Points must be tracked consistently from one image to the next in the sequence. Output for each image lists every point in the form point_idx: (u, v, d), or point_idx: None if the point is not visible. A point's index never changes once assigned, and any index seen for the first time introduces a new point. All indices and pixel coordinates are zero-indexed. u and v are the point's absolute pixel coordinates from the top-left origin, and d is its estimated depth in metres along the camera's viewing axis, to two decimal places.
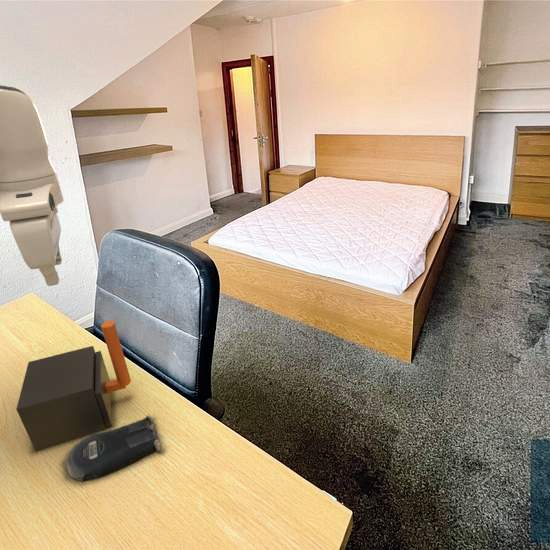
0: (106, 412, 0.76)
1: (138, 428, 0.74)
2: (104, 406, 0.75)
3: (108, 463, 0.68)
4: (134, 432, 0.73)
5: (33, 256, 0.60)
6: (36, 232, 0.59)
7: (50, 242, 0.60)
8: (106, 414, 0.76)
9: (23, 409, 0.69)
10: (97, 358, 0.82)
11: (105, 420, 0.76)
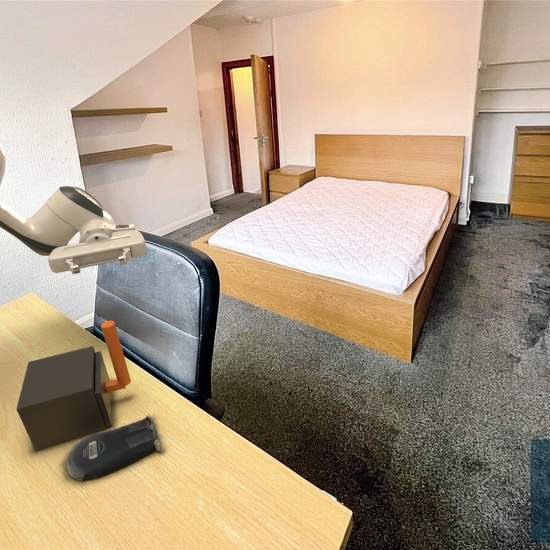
0: (106, 412, 0.76)
1: (138, 428, 0.74)
2: (104, 406, 0.75)
3: (108, 463, 0.68)
4: (134, 432, 0.73)
5: None
6: None
7: None
8: (106, 414, 0.76)
9: (23, 409, 0.69)
10: (97, 358, 0.82)
11: (105, 420, 0.76)
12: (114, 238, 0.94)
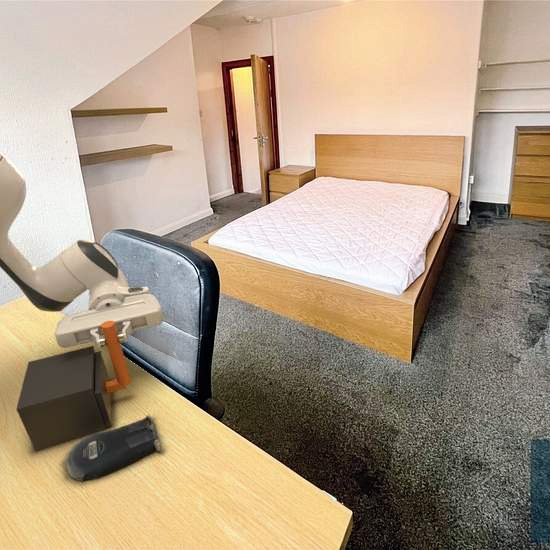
0: (106, 412, 0.75)
1: (138, 428, 0.74)
2: (104, 406, 0.75)
3: (108, 463, 0.68)
4: (134, 432, 0.73)
5: None
6: None
7: None
8: (106, 414, 0.76)
9: (23, 409, 0.69)
10: (97, 358, 0.82)
11: (105, 420, 0.76)
12: (127, 304, 0.86)
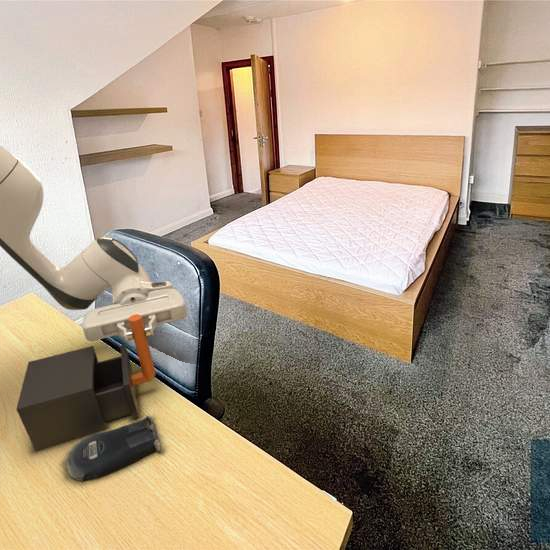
0: (133, 404, 0.77)
1: (138, 428, 0.74)
2: (132, 398, 0.76)
3: (108, 463, 0.68)
4: (134, 432, 0.73)
5: None
6: None
7: None
8: (133, 406, 0.77)
9: (23, 409, 0.69)
10: (122, 351, 0.84)
11: (132, 412, 0.78)
12: (151, 298, 0.87)
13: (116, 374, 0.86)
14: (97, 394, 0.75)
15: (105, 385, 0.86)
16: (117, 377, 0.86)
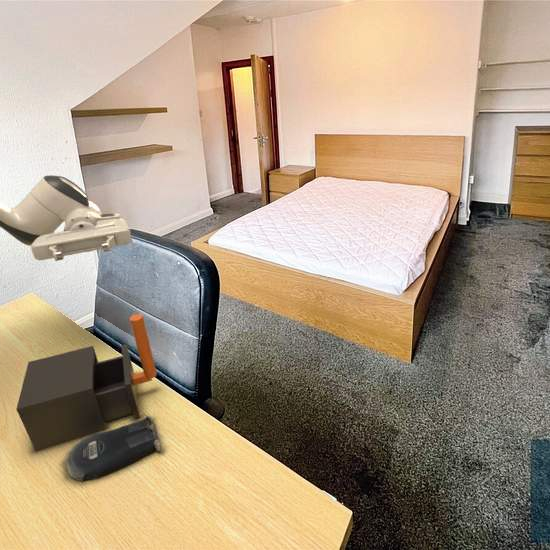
0: (135, 403, 0.77)
1: (138, 428, 0.74)
2: (133, 397, 0.76)
3: (108, 463, 0.68)
4: (134, 432, 0.73)
5: None
6: None
7: None
8: (135, 405, 0.77)
9: (23, 409, 0.69)
10: (123, 351, 0.84)
11: (134, 411, 0.78)
12: (99, 226, 0.94)
13: (117, 374, 0.86)
14: (98, 394, 0.75)
15: (106, 385, 0.86)
16: (118, 377, 0.86)
